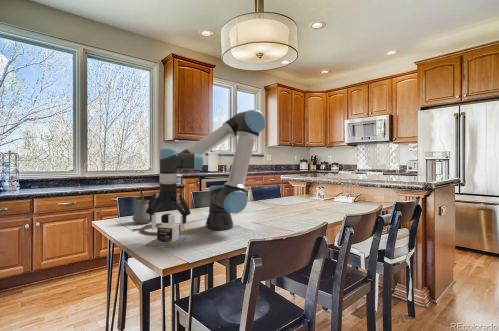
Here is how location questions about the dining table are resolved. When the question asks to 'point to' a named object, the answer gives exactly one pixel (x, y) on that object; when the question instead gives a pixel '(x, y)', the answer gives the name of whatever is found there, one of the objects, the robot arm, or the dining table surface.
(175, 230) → the medicine bottle
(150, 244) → the slate mat
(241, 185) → the robot arm
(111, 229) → the dining table surface
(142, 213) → the coffee pot
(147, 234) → the woven rattan coaster
